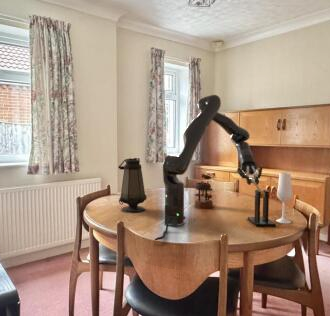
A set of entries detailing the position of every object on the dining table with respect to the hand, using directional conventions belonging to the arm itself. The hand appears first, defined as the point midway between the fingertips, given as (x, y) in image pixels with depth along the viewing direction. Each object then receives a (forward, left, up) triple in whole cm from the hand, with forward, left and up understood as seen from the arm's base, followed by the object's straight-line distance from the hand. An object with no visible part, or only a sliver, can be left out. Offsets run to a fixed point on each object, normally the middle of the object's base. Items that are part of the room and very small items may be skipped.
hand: (253, 183), depth 154 cm
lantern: (-20, +62, -17) cm, 68 cm away
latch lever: (-3, -2, -2) cm, 5 cm away
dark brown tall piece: (+7, +30, -17) cm, 36 cm away
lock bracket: (-10, -6, -17) cm, 21 cm away
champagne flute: (-2, -15, -17) cm, 23 cm away
